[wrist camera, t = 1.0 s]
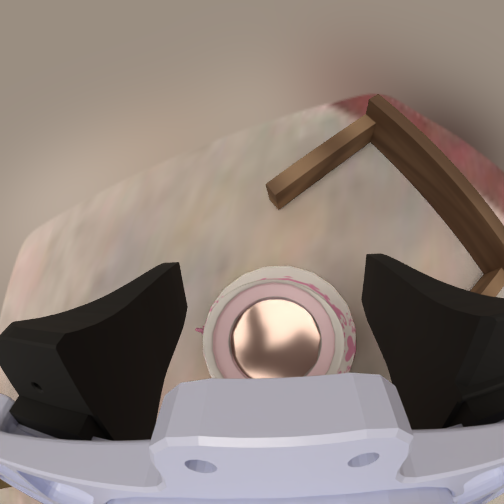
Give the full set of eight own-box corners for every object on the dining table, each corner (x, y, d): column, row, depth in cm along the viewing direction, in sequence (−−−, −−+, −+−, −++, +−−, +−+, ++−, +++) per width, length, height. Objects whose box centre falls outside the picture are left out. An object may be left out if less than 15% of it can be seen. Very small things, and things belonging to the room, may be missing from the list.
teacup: (363, 276, 24) (382, 258, 18) (340, 423, 21) (351, 451, 15) (218, 258, 26) (192, 236, 20) (194, 398, 23) (162, 416, 17)
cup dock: (408, 373, 21) (431, 382, 16) (269, 199, 26) (261, 171, 21) (497, 275, 21) (528, 264, 16) (369, 127, 26) (378, 93, 22)
